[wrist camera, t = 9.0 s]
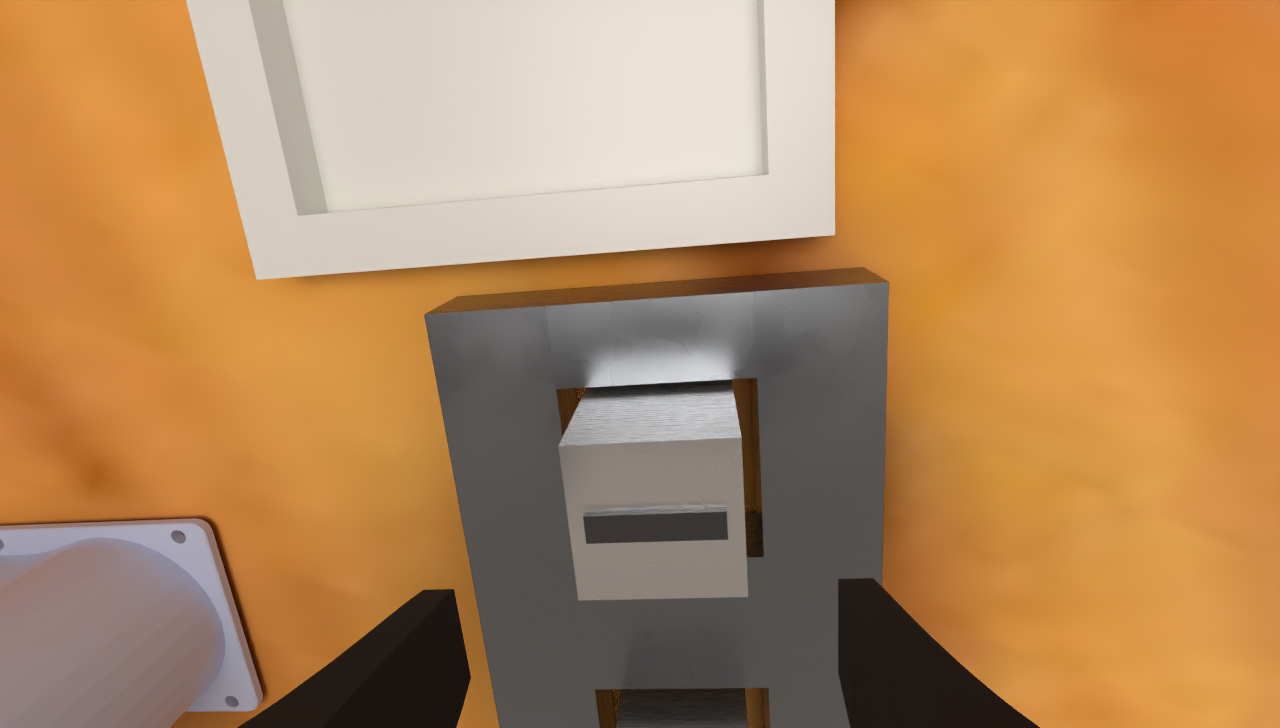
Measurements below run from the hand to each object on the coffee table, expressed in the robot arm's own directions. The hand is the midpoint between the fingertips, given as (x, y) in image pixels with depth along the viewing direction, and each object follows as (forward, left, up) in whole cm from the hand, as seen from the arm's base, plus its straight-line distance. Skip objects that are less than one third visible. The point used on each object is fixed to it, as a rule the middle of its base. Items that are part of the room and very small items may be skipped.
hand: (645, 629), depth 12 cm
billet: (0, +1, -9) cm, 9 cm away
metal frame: (0, -5, -9) cm, 10 cm away
